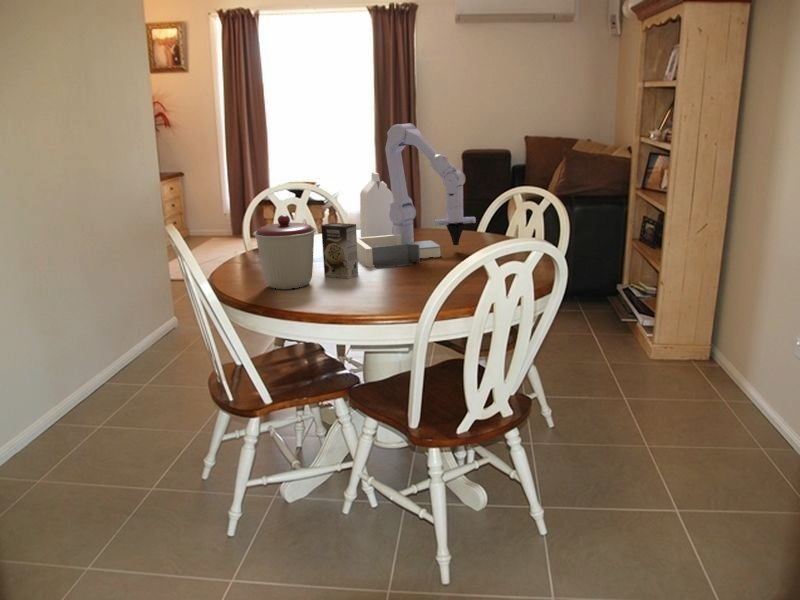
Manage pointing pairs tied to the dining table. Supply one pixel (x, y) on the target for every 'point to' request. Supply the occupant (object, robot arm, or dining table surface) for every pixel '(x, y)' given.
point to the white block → (428, 249)
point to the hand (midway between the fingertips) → (455, 244)
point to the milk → (375, 208)
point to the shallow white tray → (367, 242)
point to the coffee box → (340, 250)
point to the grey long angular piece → (395, 255)
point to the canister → (286, 253)
